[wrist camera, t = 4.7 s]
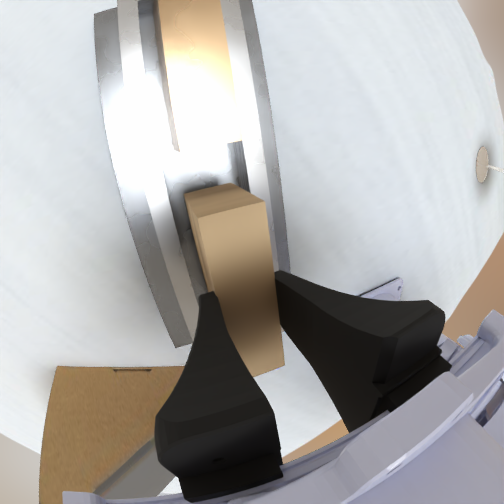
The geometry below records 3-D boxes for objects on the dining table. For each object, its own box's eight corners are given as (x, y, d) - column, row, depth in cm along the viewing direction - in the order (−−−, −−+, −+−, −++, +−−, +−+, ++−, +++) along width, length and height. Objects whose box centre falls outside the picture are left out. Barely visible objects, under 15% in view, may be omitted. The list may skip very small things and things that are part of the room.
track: (288, 303, 21) (324, 347, 16) (174, 340, 19) (185, 396, 14) (245, -3, 11) (281, -44, 6) (96, 19, 9) (77, -24, 4)
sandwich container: (229, 415, 25) (285, 539, 12) (83, 421, 19) (92, 556, 6) (238, 359, 22) (323, 521, 9) (56, 362, 16) (40, 540, 3)
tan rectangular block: (255, 317, 17) (284, 365, 13) (218, 329, 17) (240, 381, 13) (230, 182, 13) (264, 201, 9) (183, 193, 13) (197, 218, 9)
